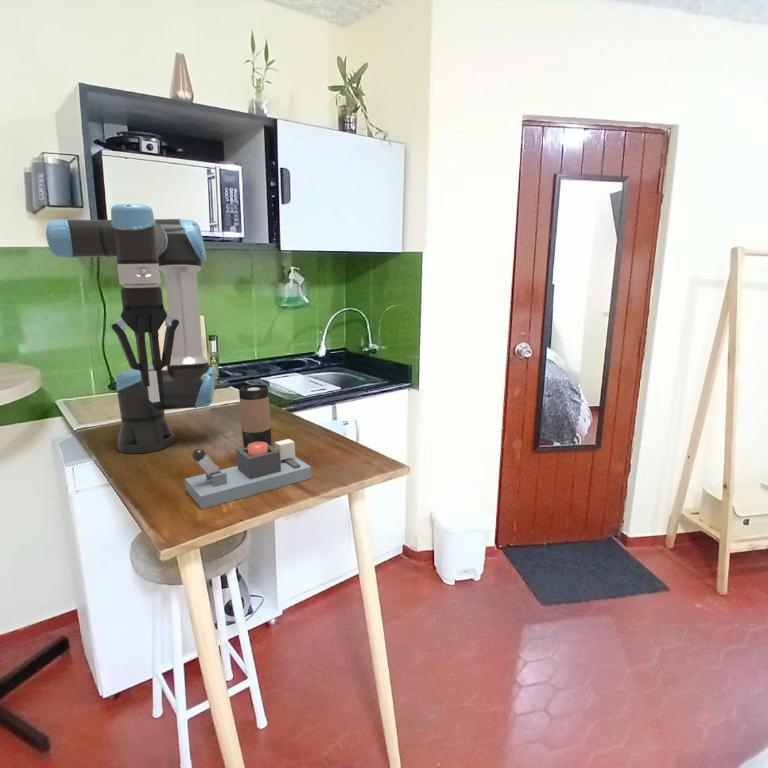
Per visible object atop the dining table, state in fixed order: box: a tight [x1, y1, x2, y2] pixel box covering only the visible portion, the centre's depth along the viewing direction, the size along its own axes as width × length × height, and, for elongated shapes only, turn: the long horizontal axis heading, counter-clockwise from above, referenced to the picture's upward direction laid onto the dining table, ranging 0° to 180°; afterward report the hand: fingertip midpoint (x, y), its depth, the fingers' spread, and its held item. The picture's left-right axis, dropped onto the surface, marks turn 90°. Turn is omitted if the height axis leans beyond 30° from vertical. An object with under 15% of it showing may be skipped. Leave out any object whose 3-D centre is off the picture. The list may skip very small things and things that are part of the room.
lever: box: [192, 448, 221, 478], centre depth 118 cm, size 3×3×8 cm
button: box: [248, 442, 268, 456], centre depth 125 cm, size 5×5×6 cm
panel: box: [184, 444, 313, 510], centre depth 124 cm, size 12×27×8 cm, turn 126°
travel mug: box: [238, 383, 273, 448], centre depth 140 cm, size 8×8×20 cm
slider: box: [274, 438, 296, 460], centre depth 131 cm, size 3×4×4 cm
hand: (154, 400), depth 108 cm, fingers closed
